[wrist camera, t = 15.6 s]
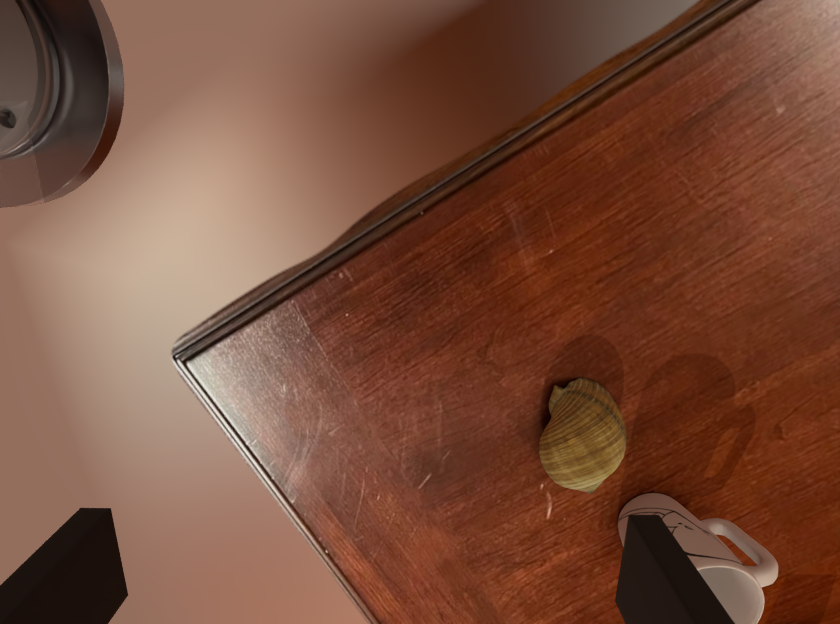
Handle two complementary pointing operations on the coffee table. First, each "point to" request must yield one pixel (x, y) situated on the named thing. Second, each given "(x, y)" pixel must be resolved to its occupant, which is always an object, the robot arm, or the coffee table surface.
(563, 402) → the seashell
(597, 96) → the coffee table surface
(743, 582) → the mug
